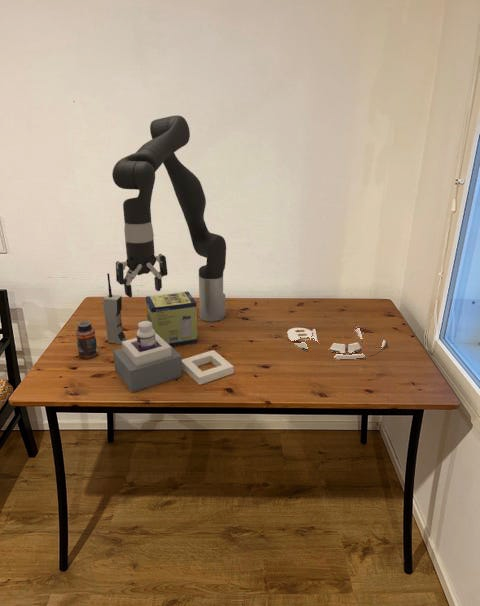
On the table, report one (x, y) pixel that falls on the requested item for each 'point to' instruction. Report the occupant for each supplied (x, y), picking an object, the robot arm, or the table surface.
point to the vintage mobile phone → (113, 317)
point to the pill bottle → (146, 336)
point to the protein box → (173, 317)
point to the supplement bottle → (86, 340)
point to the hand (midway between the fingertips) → (143, 293)
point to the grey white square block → (147, 364)
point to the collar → (212, 374)
